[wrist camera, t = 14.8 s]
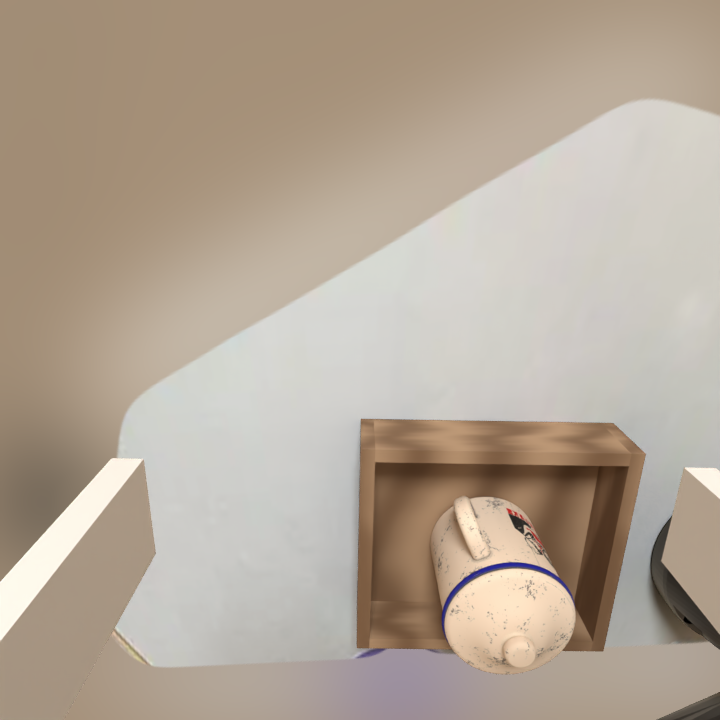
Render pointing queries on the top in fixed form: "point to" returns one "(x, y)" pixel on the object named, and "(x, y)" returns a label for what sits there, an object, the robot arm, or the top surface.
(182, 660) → the top surface
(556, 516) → the walnut box
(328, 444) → the top surface
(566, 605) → the teacup with lid
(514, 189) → the top surface
